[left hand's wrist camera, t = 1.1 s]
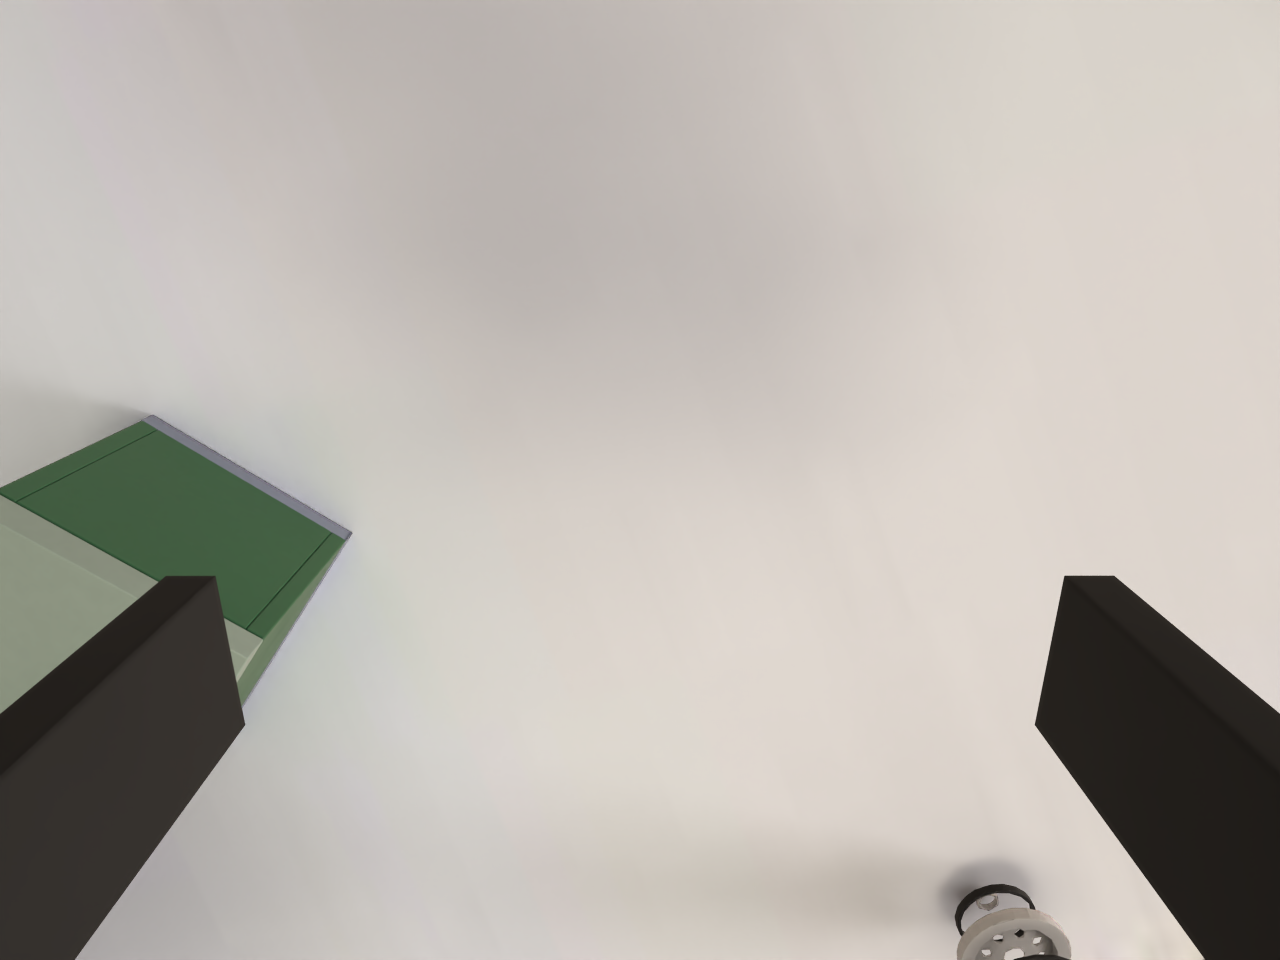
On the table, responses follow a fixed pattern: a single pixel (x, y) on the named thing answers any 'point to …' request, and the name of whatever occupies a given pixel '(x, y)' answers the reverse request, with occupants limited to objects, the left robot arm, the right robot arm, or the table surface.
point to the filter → (1009, 930)
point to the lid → (64, 600)
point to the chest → (191, 525)
